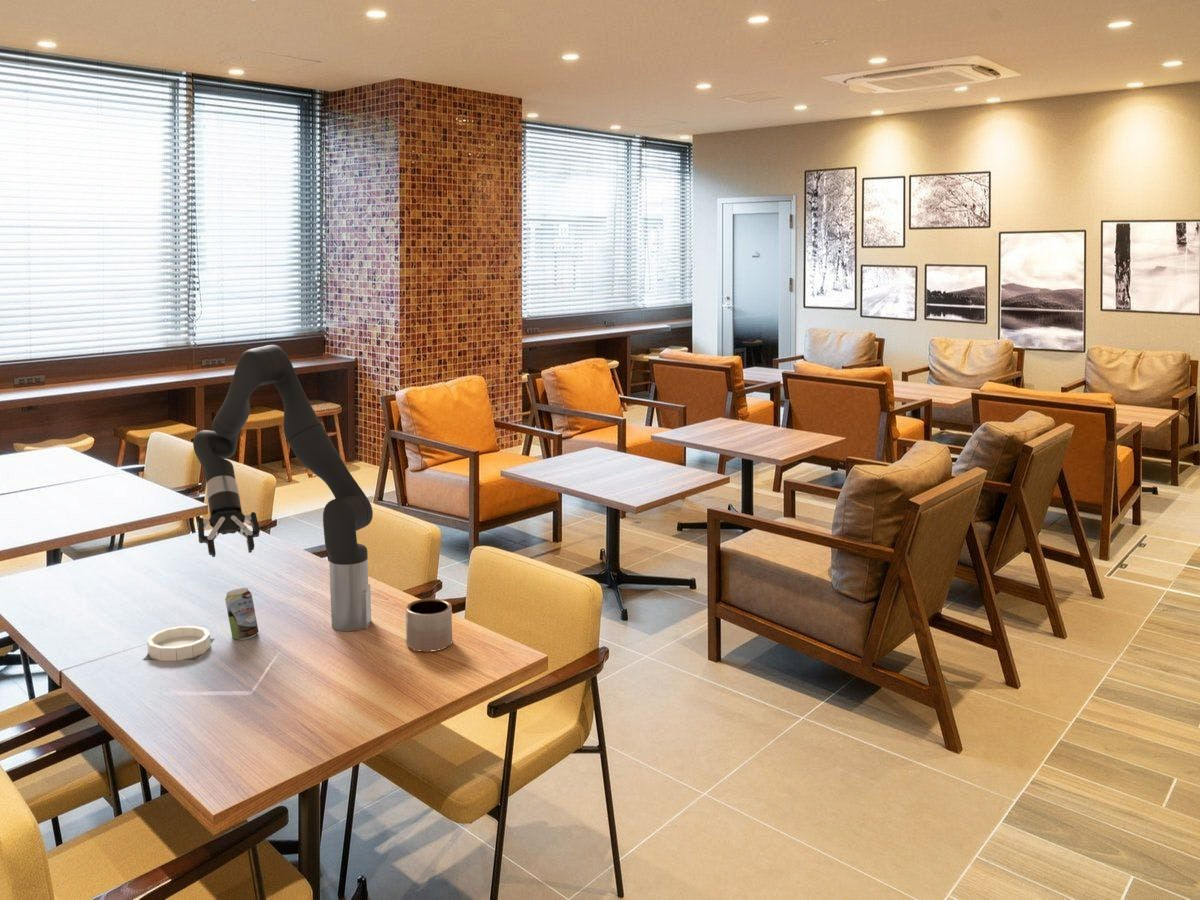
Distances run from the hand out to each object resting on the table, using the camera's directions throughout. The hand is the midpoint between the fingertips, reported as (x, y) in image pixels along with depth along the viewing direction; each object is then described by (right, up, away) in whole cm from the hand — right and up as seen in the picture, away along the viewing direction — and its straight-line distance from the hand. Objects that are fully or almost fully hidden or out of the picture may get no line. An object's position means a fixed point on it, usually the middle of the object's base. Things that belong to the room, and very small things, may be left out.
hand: (232, 553), depth 237 cm
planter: (+50, -21, -7) cm, 55 cm away
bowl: (-7, -21, -15) cm, 26 cm away
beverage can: (+5, -20, -6) cm, 21 cm away
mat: (-7, -21, -15) cm, 27 cm away
